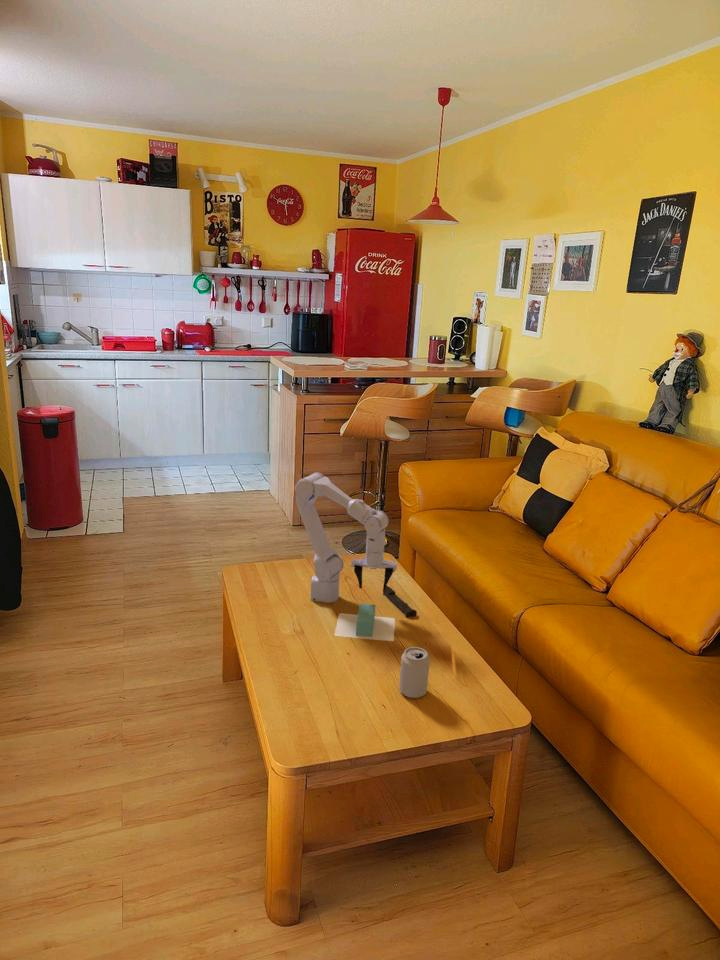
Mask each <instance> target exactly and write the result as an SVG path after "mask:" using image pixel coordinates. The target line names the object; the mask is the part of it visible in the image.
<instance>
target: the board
mask: <svg viewBox="0 0 720 960" xmlns="http://www.w3.org/2000/svg"><path fill="white" fill-rule="evenodd" d="M357 616H358V614H352V613H342V612H341V613H338V618H337V621H336V622H337V623H336V626H335V629H334V630H335V631H334V637H340V638H343V637H344V638H349V639H350V638H353V639H362V640H376V641H385V642H394V641H395V640H394V639H395V626H396V618H395V617H386V616H376V615H375V620H374V627H373V635H372V637H367V636H356V623H357Z"/></svg>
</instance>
